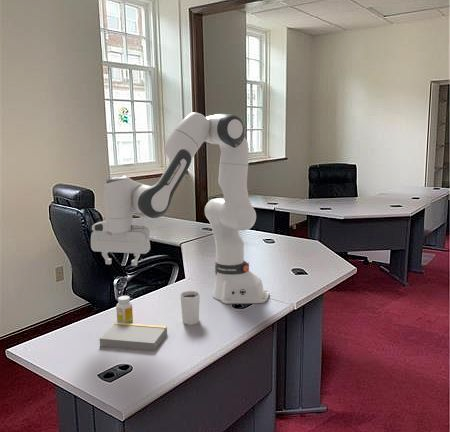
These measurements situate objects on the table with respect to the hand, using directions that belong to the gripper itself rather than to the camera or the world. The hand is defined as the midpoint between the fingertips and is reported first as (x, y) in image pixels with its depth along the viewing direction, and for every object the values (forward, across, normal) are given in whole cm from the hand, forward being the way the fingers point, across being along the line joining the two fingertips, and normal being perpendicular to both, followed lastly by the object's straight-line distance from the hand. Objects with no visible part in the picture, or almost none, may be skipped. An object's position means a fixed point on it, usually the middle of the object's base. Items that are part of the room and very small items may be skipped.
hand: (121, 264), depth 156 cm
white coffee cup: (+22, -22, -6) cm, 31 cm away
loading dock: (+21, -8, +11) cm, 25 cm away
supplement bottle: (+22, 0, 0) cm, 22 cm away
